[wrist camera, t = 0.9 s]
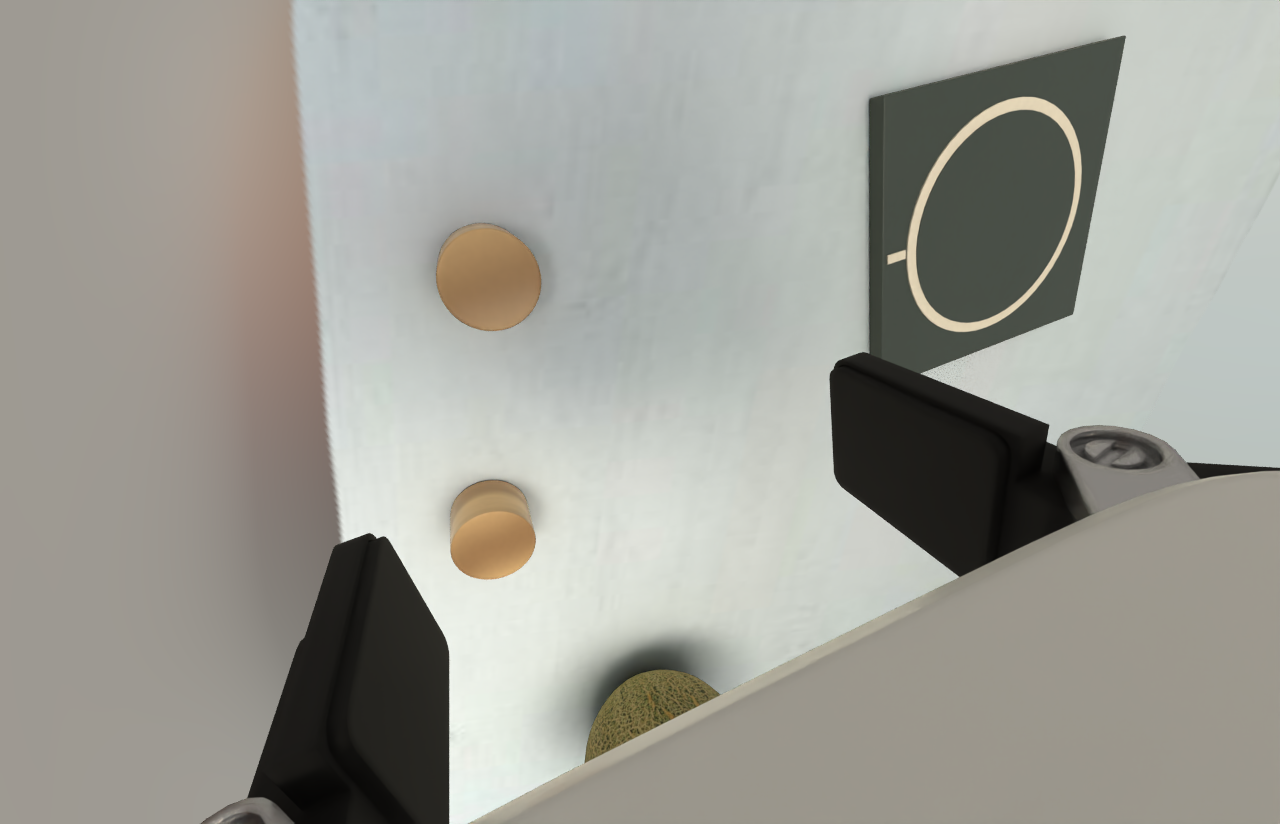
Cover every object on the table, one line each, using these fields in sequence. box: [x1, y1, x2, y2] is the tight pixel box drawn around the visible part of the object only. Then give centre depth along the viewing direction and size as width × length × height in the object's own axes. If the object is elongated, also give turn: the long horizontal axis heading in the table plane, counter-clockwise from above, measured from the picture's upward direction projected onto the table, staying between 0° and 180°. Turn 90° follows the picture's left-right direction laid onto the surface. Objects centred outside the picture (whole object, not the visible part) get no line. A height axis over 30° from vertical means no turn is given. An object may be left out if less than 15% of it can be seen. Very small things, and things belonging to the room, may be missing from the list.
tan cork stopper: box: [450, 480, 536, 579], centre depth 26 cm, size 4×4×3 cm
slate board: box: [870, 36, 1126, 374], centre depth 30 cm, size 16×16×1 cm
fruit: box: [585, 670, 720, 763], centre depth 31 cm, size 11×11×15 cm
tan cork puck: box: [436, 223, 541, 331], centre depth 21 cm, size 4×4×3 cm
